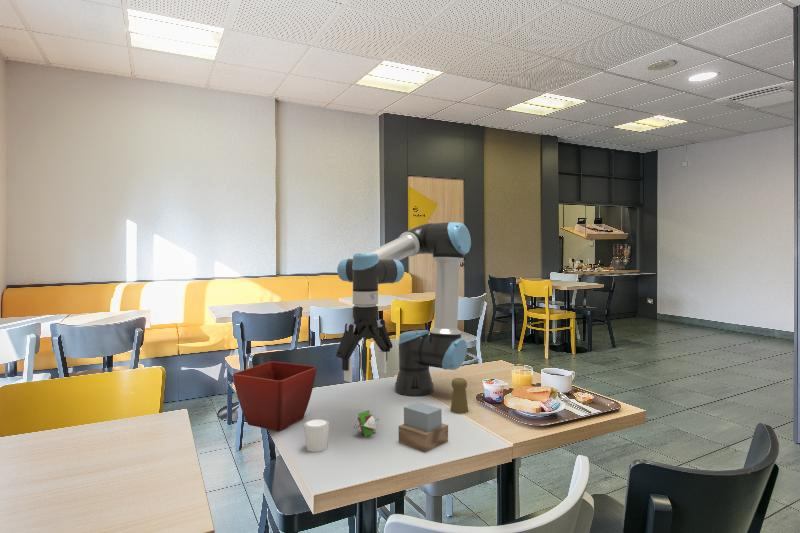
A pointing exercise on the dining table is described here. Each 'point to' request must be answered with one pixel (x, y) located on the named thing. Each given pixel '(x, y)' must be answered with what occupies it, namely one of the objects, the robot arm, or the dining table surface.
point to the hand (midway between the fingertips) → (365, 376)
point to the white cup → (316, 434)
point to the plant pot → (274, 393)
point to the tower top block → (423, 416)
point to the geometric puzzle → (367, 423)
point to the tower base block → (423, 437)
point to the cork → (459, 396)
